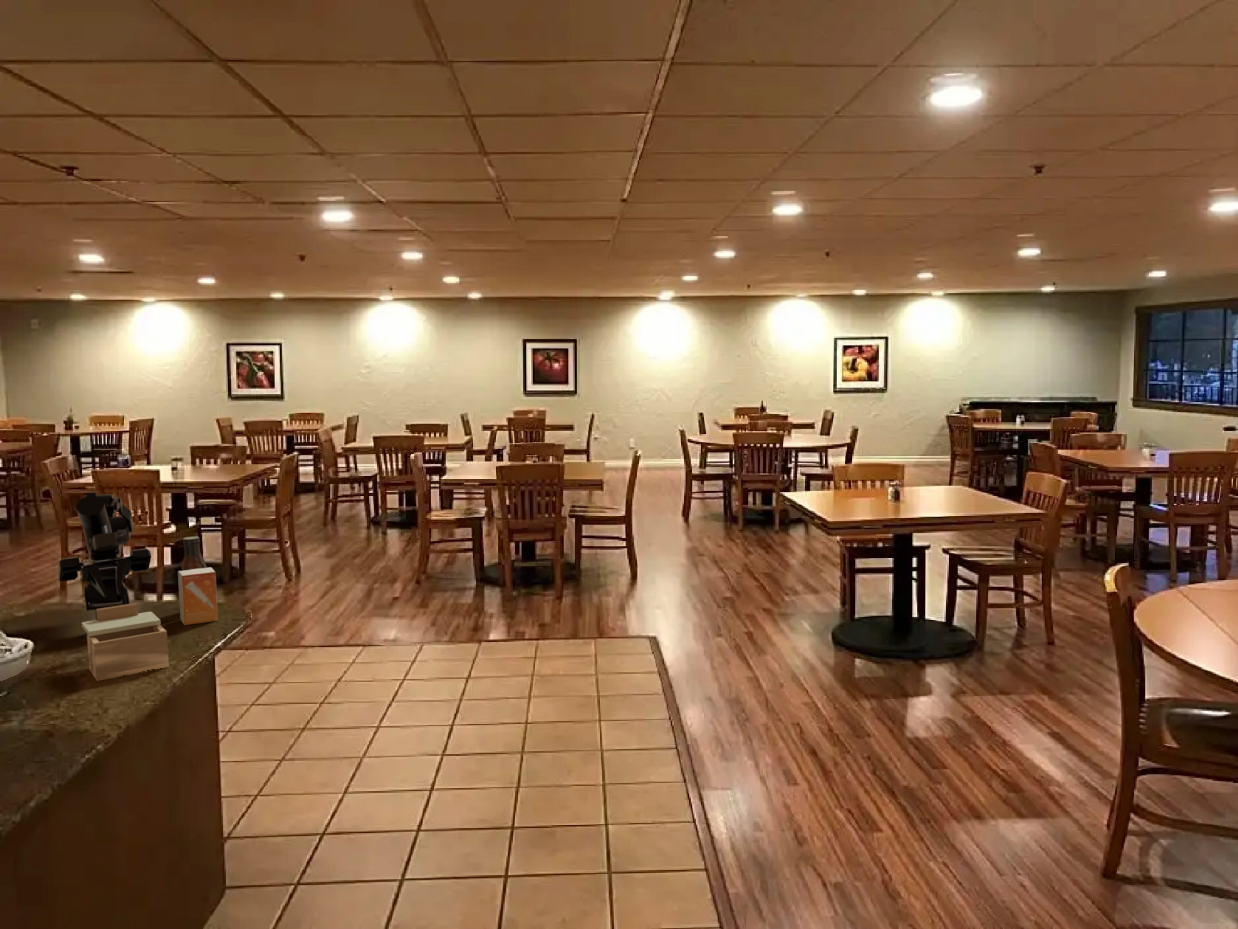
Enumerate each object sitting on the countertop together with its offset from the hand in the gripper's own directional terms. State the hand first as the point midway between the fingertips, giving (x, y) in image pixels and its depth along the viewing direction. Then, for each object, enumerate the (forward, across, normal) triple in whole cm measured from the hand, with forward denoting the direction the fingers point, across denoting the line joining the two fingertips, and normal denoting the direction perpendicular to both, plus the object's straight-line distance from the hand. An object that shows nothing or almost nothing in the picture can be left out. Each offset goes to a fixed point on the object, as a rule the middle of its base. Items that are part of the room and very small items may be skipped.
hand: (112, 594), depth 214 cm
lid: (+10, 0, -2) cm, 10 cm away
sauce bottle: (-8, +24, +28) cm, 38 cm away
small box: (-1, +22, +21) cm, 30 cm away
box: (+20, 0, 0) cm, 20 cm away
